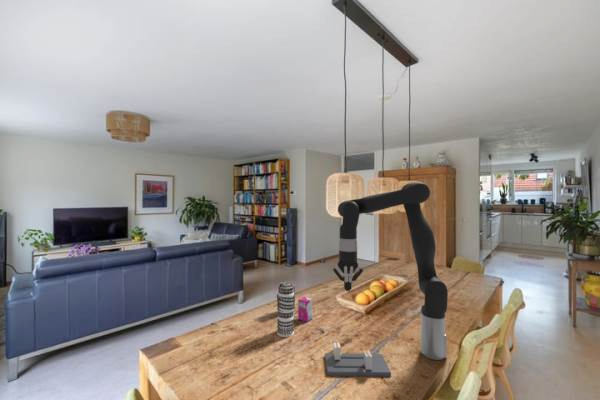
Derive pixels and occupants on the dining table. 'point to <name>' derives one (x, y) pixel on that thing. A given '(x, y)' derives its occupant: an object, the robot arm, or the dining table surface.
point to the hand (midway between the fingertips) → (347, 290)
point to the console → (356, 365)
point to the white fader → (337, 351)
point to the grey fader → (367, 360)
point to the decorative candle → (285, 309)
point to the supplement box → (305, 309)
